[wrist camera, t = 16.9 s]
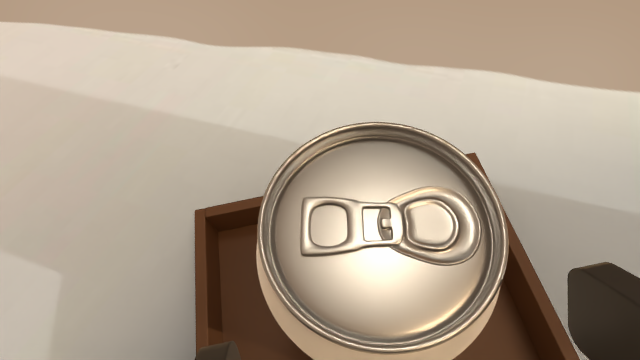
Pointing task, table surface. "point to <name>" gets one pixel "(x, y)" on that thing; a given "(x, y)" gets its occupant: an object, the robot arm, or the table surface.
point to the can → (381, 245)
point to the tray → (285, 356)
